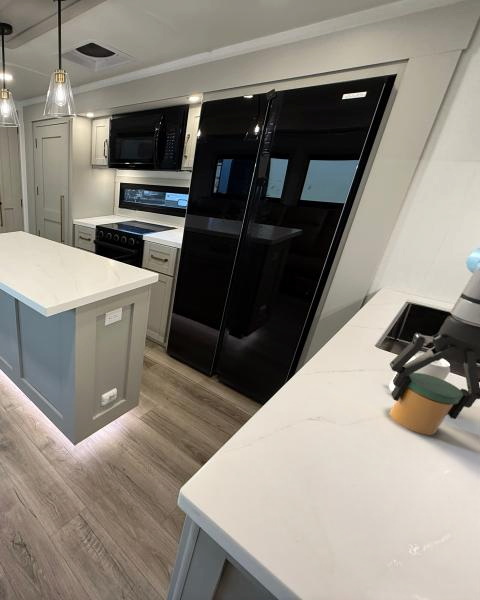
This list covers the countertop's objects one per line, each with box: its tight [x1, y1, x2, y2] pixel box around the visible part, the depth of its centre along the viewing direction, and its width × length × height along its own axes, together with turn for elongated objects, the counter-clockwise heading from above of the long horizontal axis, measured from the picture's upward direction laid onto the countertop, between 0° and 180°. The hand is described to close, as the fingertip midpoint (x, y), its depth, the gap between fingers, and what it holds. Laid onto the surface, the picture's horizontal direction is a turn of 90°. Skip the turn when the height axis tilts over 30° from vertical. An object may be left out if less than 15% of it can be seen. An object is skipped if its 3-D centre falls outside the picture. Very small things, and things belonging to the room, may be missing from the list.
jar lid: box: [407, 373, 463, 404], centre depth 71 cm, size 9×9×2 cm
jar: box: [389, 386, 454, 436], centre depth 73 cm, size 8×8×10 cm
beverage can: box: [388, 350, 451, 392], centre depth 82 cm, size 8×8×12 cm
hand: (421, 405), depth 73 cm, fingers open, 9 cm apart
